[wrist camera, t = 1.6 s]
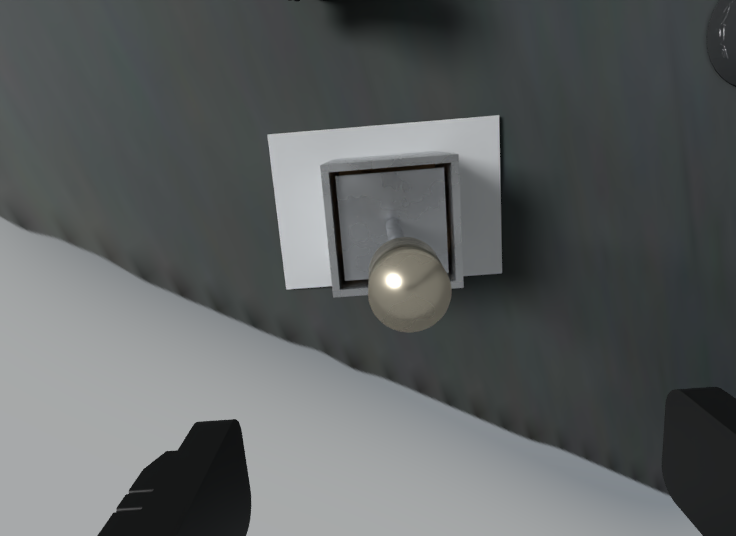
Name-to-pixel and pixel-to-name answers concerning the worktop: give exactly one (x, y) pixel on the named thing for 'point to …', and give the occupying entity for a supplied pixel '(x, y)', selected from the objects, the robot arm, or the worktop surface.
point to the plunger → (397, 243)
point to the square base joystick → (385, 165)
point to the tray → (313, 148)
